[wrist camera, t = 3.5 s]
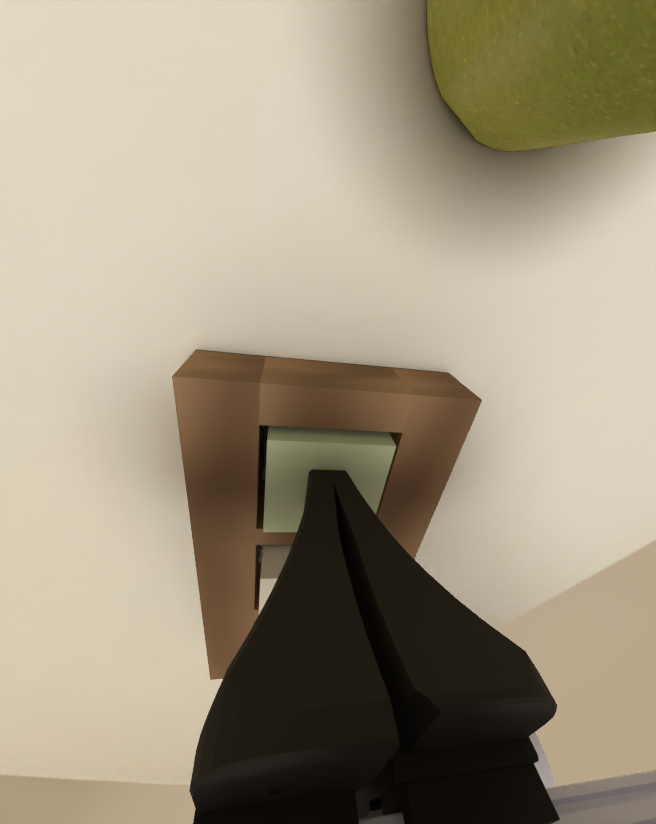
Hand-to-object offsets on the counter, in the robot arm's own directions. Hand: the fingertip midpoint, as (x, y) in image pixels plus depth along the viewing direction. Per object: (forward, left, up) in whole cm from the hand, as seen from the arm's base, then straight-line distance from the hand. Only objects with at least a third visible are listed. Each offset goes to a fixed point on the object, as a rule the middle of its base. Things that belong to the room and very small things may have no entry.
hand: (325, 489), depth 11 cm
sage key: (0, 0, -2) cm, 2 cm away
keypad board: (0, +6, -3) cm, 7 cm away
